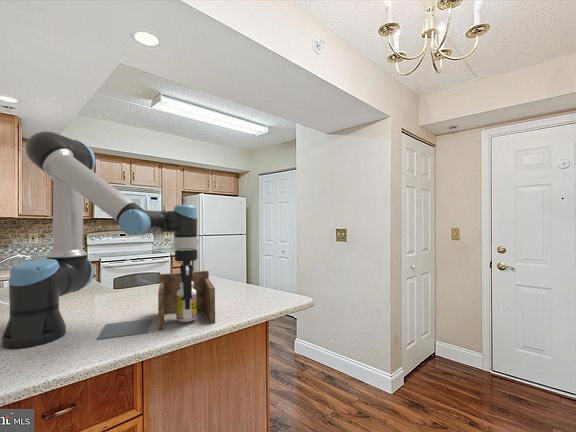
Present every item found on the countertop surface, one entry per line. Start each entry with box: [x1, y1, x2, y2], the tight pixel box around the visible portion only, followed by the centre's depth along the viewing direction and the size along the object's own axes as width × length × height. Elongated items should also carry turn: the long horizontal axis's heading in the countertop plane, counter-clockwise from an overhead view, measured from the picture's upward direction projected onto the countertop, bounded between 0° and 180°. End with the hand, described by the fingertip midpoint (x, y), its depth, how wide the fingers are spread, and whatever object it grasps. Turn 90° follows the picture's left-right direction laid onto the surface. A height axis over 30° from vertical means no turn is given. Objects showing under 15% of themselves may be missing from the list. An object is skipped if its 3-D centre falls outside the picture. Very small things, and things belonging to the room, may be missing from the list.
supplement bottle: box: [176, 281, 198, 323], centre depth 107 cm, size 7×7×13 cm
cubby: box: [157, 270, 216, 331], centre depth 111 cm, size 18×20×15 cm
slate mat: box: [96, 318, 152, 341], centre depth 101 cm, size 14×14×1 cm
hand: (186, 315), depth 107 cm, fingers closed on supplement bottle, 7 cm apart
